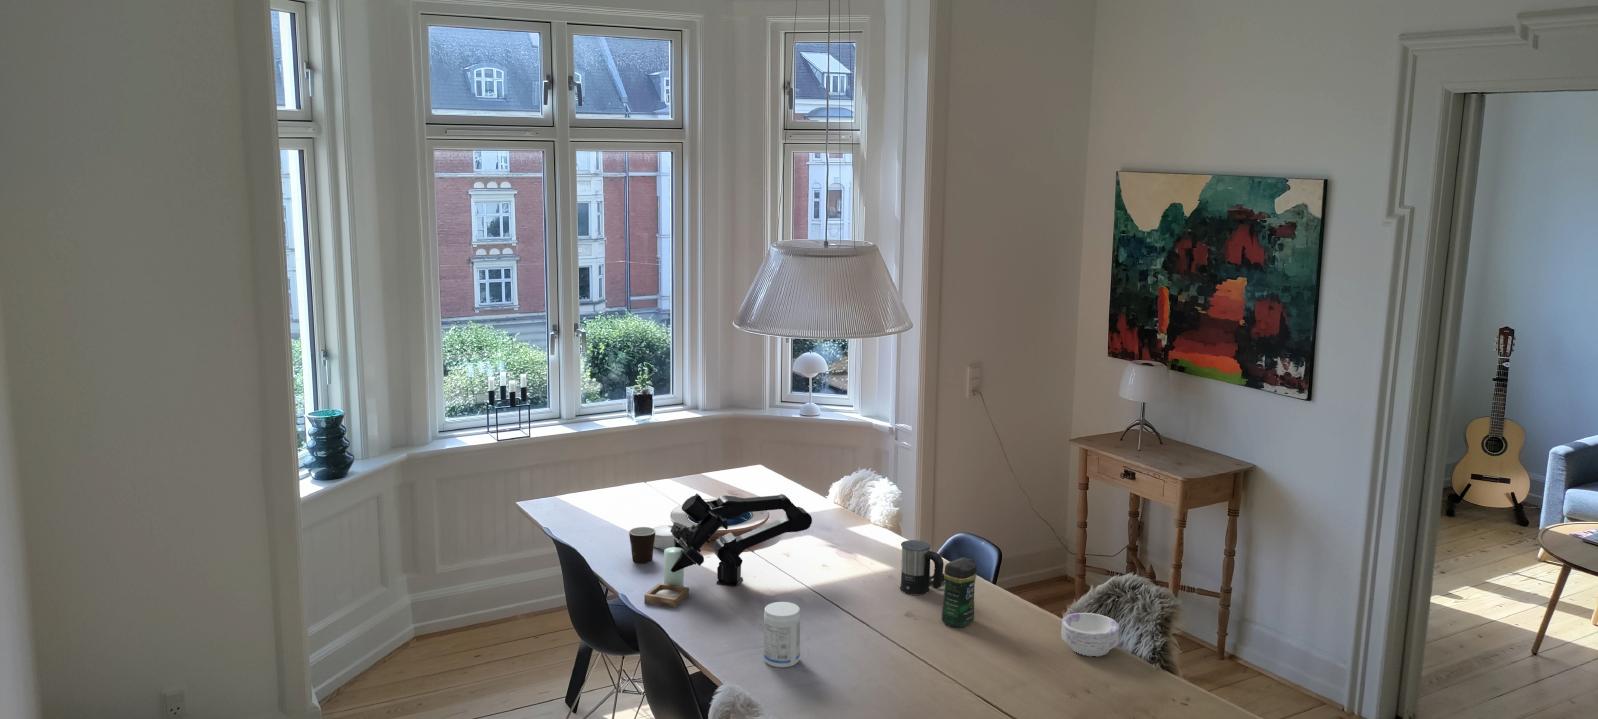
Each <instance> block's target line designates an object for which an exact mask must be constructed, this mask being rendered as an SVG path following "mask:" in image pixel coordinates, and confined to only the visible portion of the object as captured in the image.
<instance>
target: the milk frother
mask: <svg viewBox="0 0 1598 719" xmlns="http://www.w3.org/2000/svg"><path fill="white" fill-rule="evenodd" d="M900 546H901V570H900V571H901V575H900V586H899V590H900V591H901V592H902V591H903V592H905V593H904V594H906V593H907V595H910V594H912V595H913V596H922V595H925V594H927V592H928V593H929V592H930V591H929V590H930V587H933V589H936V590H938V589H939V588H941V586H942V583H943V582H945V576H944V563H945V562H944V559H943V558H942V556H941V555H940V554H939V553H937V552H936V551H932V550H931V549H930V548H931V547H932V545H931V543H929V542H928V541H924V540H919V539H910V540H904V541H902V542H901V543H900ZM931 561H932V562H933V564H934V568H933V569H934V570H933V571H934V573H933V575H930V574H931ZM903 592H902V593H903Z"/></svg>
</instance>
